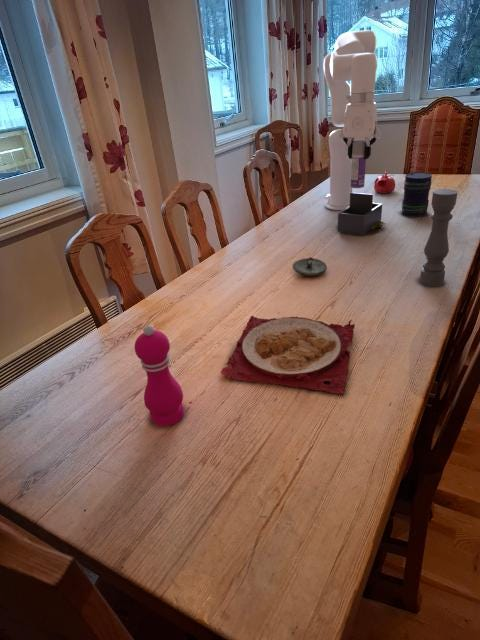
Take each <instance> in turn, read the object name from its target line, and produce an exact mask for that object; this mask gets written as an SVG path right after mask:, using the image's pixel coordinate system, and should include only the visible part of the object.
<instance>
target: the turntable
mask: <svg viewBox="0 0 480 640" xmlns="http://www.w3.org/2000/svg"><path fill="white" fill-rule="evenodd" d="M379 225H381V224H379ZM381 230H382V227H375V228H374V229H370V230H369V231H368V232H366V233H365V234H364V236H366V235H372V234H376V233H378V232H380V231H381ZM342 233H344V234H346V235H352V236H360V235H359V234H352V233H345V232H342Z"/></svg>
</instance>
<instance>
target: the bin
mask: <svg viewBox="0 0 480 640" xmlns="http://www.w3.org/2000/svg"><path fill="white" fill-rule="evenodd" d="M382 210H383V203H378V202H374V194H373V193H363V192H354V191H352V192H351V193H350V206H349V207H347V208H346V209H344V210H340V211H339V212H338V213H337V232H338V233H343V232H345V233H344V234H346V233H352V234H359V235H358V236H363V235H364V234H365V233H366V232H368V231H369V230H370V229H372V227H373V226H374V225H376V224H377V223H378V222H379V221H381V222H382V213H383V211H382ZM352 234H351V235H352ZM364 236H365V235H364Z"/></svg>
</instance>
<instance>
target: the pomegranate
mask: <svg viewBox="0 0 480 640" xmlns="http://www.w3.org/2000/svg"><path fill="white" fill-rule="evenodd" d="M392 176H395V175H393V174H390V175H388V171H385V172H384V174H383V173H382V174H380V175H378V176H377V177H376V179H375V180H374V185H373V189H374V192H375V193H379V194H390V193H392V192H394V191H395V189H396V180H395V179H394V178H393V177H392Z"/></svg>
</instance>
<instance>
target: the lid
mask: <svg viewBox="0 0 480 640" xmlns="http://www.w3.org/2000/svg"><path fill="white" fill-rule="evenodd" d="M327 269H328V267H327V264H326V263H325V262H324V261H323V260H321V259H318V258H314V257H305V258H300V259H298V260H295V261H294V262H293V263H292V270H293V271H294V272H296V273H297V274H299V275H303V276H306V277H316V276H318V275H322V274H323V273H325V272H326V271H327Z"/></svg>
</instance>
